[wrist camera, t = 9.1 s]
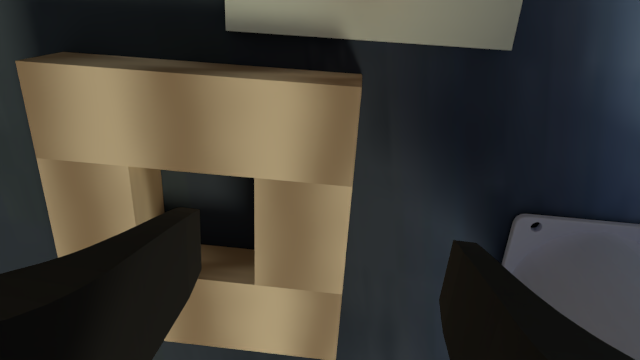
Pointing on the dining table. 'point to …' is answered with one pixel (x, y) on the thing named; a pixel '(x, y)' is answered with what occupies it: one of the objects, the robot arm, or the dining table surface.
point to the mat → (383, 20)
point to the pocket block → (210, 158)
